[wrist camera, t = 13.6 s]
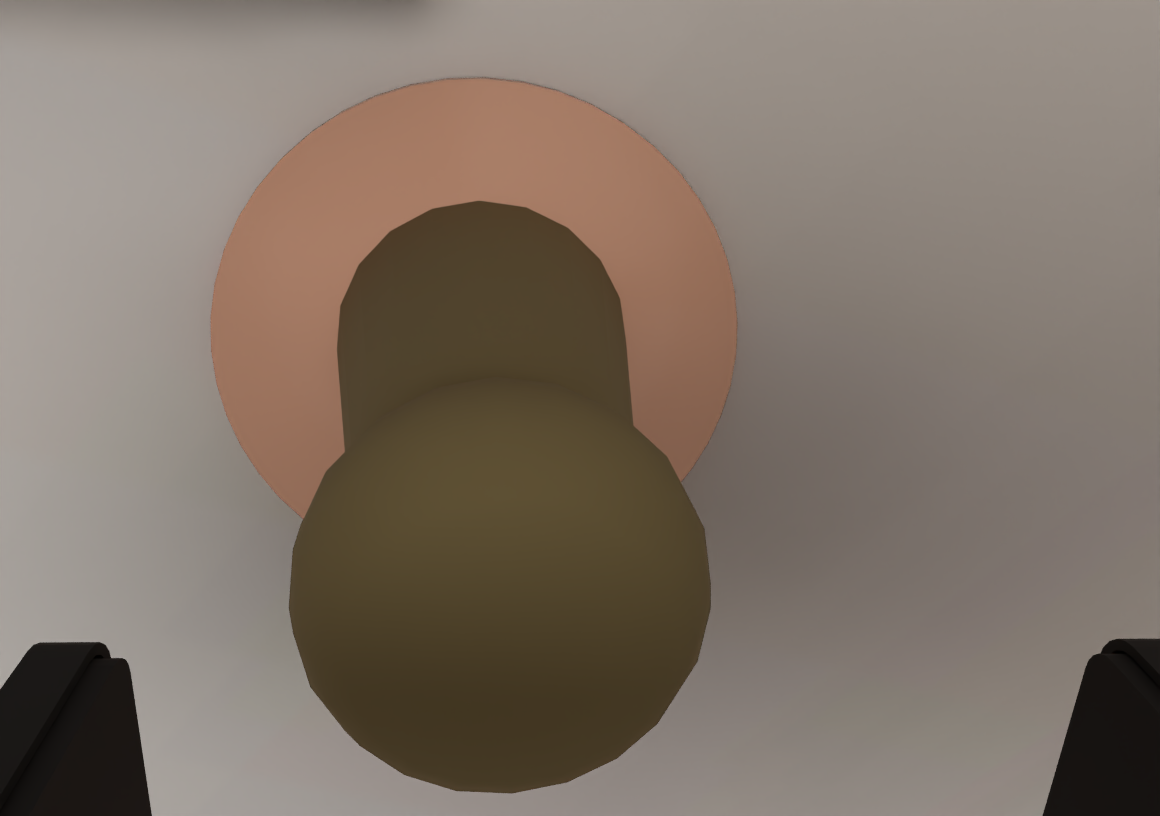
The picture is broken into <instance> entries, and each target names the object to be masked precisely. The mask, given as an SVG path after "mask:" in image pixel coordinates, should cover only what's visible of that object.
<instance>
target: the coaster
mask: <svg viewBox="0 0 1160 816" xmlns="http://www.w3.org/2000/svg"><path fill="white" fill-rule="evenodd" d="M474 201H486V202H493V203H500V204H507V205H514V206H521V207H527V208H529V209H531V210H533V211H535V212H537V213H539V214H541V215H543V216H545V217H547V218H549V219H551V220H553V221H555V222H557V223H559V224H561V225H563V226H566V227H568V228H569V229H570V230H571V231H572V232H573V233H574V234H575V235H576V236H577V237H578V238H579V239H580V240H581V241H582V242H583V243H584V244H585V245H586V246H587V247H588V248H589V249H590V250H591V251H592V252H593V253H594V254H595V255H596V256H597V257H598V258H599V259H600V260H601V262H602V264H603V266H604V268H605V270H606V272H607V274H608V276H609V278H610V279H611V281H612V283H613V285H614V287H615V289H616V291H617V293H618V295H619V297H620V302H621V309H622V316H623V323H624V330H625V337H626V347H627V358H628V370H629V381H630V392H631V404H632V415H633V426H634V427H635V428H637V429H638V430H639V431H640V432H641V433H642V434H643V435H644V436H645V437H646V438H648V439H649V440H650V441H651V442H652V443H653V444H654V445H655V446H656V447H657V448H658V449H660V450H661V451H662V452H663V453H664V454H665V455H666V456H667V457H668V459H669V461H670V463H671V465H672V467H673V469H674V470H675V472H676V474H677V476H678V478H679V480H680V482H682V480H683V479H684V478H685V477H686V475H687V474H688V473H689V472H690V471H691V469H692V468H693V466H694V465H695V463H696V461H697V460H698V458H699V457H700V455H701V454H702V452H703V450H704V449H705V447H706V446H707V444H708V442H709V440H710V438H711V436H712V434H713V431H714V429H715V427H716V425H717V423H718V421H719V419H720V416H721V414H722V411H723V408H724V405H725V401H726V398H727V395H728V392H729V389H730V386H731V380H732V375H733V369H734V363H735V358H736V345H737V312H736V302H735V291H734V287H733V282H732V278H731V274H730V269H729V265H728V261H727V258H726V255H725V252H724V250H723V247H722V245H721V242H720V239H719V237H718V234H717V231H716V229H715V227H714V225H713V223H712V221H711V220H710V218H709V216H708V214H707V212H706V211H705V209H704V207H703V205H702V203H701V201H700V200H699V198H698V197H697V195H696V194H695V193H694V191H693V190H692V189H691V187H690V186H689V185H688V183H687V182H686V181H685V179H684V178H683V177H682V175H681V174H680V173H679V171H678V170H677V169H676V168H675V167H674V166H673V165H672V164H671V163H670V162H669V161H668V160H667V159H666V158H665V157H664V156H663V155H662V154H661V153H660V152H659V151H658V150H657V149H656V148H655V147H654V146H653V145H651V144H650V143H649V142H647V141H646V140H645V139H643V138H642V137H641V136H640V135H638V134H637V133H636V132H634V131H633V130H632V129H630V128H629V127H628V126H627V125H625V124H624V123H623V122H621V121H620V120H618V119H616V118H614V117H613V116H611V115H609V114H607V113H606V112H604V111H602V110H600V109H599V108H597V107H595V106H593V105H592V104H590V103H587V102H585V101H582V100H580V99H577V98H575V97H572V96H570V95H567V94H565V93H562V92H560V91H557V90H554V89H550V88H546V87H542V86H538V85H534V84H530V83H526V82H522V81H514V80H504V79H495V78H486V77H478V78H447V79H441V80H435V81H429V82H423V83H417V84H411V85H408V86H404V87H401V88H398V89H395V90H392V91H388V92H385V93H382V94H379V95H376V96H374V97H371V98H369V99H367V100H365V101H363V102H361V103H359V104H357V105H355V106H352V107H350V108H348V109H346V110H344V111H342V112H341V113H339V114H338V115H336V116H334V117H333V118H331V119H330V120H328V121H327V122H325V123H324V124H322V125H321V126H319V127H318V128H316V129H315V130H313V131H312V132H311V133H310V134H308V135H307V136H306V137H305V138H304V139H303V140H302V141H301V142H299V143H298V144H297V145H296V146H295V147H294V148H293V149H292V150H290V151H289V152H288V153H287V154H286V155H285V156H284V157H283V158H282V159H281V160H280V161H279V162H278V163H277V165H276V166H275V167H274V168H273V169H272V170H271V172H270V173H269V174H268V175H267V176H266V178H265V179H264V180H263V181H262V182H261V183H260V185H259V186H258V187H257V188H256V190H255V192H254V193H253V195H252V196H251V198H250V200H249V201H248V203H247V204H246V206H245V208H244V209H243V211H242V212H241V214H240V216H239V217H238V219H237V221H236V224H235V226H234V228H233V231H232V233H231V235H230V237H229V240H228V242H227V244H226V247H225V249H224V252H223V255H222V259H221V263H220V266H219V270H218V274H217V277H216V281H215V286H214V294H213V302H212V311H211V352H212V358H213V364H214V370H215V376H216V382H217V386H218V390H219V393H220V396H221V399H222V402H223V405H224V409H225V412H226V415H227V417H228V420H229V422H230V424H231V426H232V428H233V430H234V432H235V434H236V436H237V439H238V441H239V443H240V445H241V447H242V448H243V450H244V451H245V453H246V454H247V456H248V457H249V459H250V460H251V462H252V464H253V465H254V467H255V468H256V470H257V471H258V473H259V474H260V475H261V476H262V478H263V479H264V480H265V481H266V482H267V483H268V485H269V486H270V487H271V488H272V489H273V490H274V492H275V493H276V494H277V495H278V496H279V497H280V498H281V499H282V500H283V501H284V502H285V503H286V504H287V505H288V506H289V507H291V508H292V509H293V510H294V511H295V512H296V513H297V514H298V515H299V516H300V517H301V518H303V519H304V517H305V515H306V513H307V511H308V508H309V506H310V504H311V502H312V500H313V498H314V496H315V493H316V491H317V489H318V487H319V485H320V483H321V481H322V478H323V476H324V474H325V472H326V471H327V470H328V469H329V468H330V467H331V466H332V465H333V464H334V463H335V462H336V461H337V460H338V458H339V457H340V456H341V455H342V454H343V453H344V452H345V447H344V435H343V422H342V409H341V396H340V384H339V371H338V358H337V341H338V328H339V316H340V305H341V303H342V301H343V298H344V296H345V294H346V292H347V290H348V287H349V285H350V283H351V281H352V278H353V276H354V274H355V272H356V269H357V267H358V265H359V264H360V263H361V262H362V261H363V259H364V258H365V257H366V256H367V255H368V254H369V253H370V252H371V251H372V250H373V249H374V248H375V247H376V246H377V245H378V243H379V242H380V241H381V240H382V239H383V238H384V237H385V236H386V235H387V234H388V233H389V232H390V231H391V230H393V229H395V228H397V227H399V226H401V225H402V224H404V223H406V222H408V221H410V220H412V219H414V218H416V217H417V216H419V215H421V214H423V213H425V212H427V211H429V210H431V209H433V208H439V207H445V206H451V205H456V204H462V203H468V202H474Z"/></svg>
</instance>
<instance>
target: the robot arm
mask: <svg viewBox="0 0 1160 816" xmlns="http://www.w3.org/2000/svg"><path fill="white" fill-rule="evenodd" d="M0 816H152V814H151V807H150V801H149V794H148V787H147V780H146V774H145V767H144V760H143V753H142V747H141V740H140V733H139V726H138V720H137V713H136V706H135V699H134V693H133V686H132V679H131V672H130V668H129V665H128V663H127V661H126V660H125V659H123V658H111V657H110V653H109V650H108V649H107V647H106V645H105V644H103V643H100V642H67V643H38V644H35V645H33V646H32V647H31V648H30V649H29V650H28V651H27V653H26V654H25V655H24V657H23V658H22V660H21V661H20V663H19V664H18V665H17V667H16V668H15V670H14V671H13V672H12V674H11V675H10V677H9V678H8V679H7V681H6V682H5V684H4V685H3V686H2V688H1V689H0ZM1043 816H1160V639H1115V640H1112V641H1109V642H1108V643H1107V644H1106V645H1105V646H1104V647H1103V649H1102V652H1101V654H1096V655H1093V656H1092V657H1091V658H1090V659H1089V661H1088V663H1087V666H1086V668H1085V672H1084V675H1083V679H1082V682H1081V686H1080V689H1079V692H1078V696H1077V699H1076V703H1075V706H1074V710H1073V713H1072V717H1071V720H1070V723H1069V727H1068V730H1067V734H1066V737H1065V741H1064V744H1063V748H1062V751H1061V754H1060V758H1059V761H1058V765H1057V768H1056V772H1055V775H1054V779H1053V782H1052V785H1051V789H1050V792H1049V796H1048V799H1047V803H1046V806H1045V810H1044V813H1043Z"/></svg>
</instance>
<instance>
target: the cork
mask: <svg viewBox="0 0 1160 816" xmlns="http://www.w3.org/2000/svg"><path fill="white" fill-rule="evenodd" d="M337 358H338V371H339V384H340V396H341V409H342V422H343V435H344V447H345V452H344V453H343V454H342V455H341V456H340V457H339V458H338V460H337V461H336V462H335V463H334V464H333V465H332V466H331V467H330V468H329V469H328V470H327V471H326V472H325V474H324V476H323V478H322V481H321V483H320V485H319V487H318V489H317V491H316V493H315V496H314V498H313V500H312V502H311V504H310V506H309V508H308V511H307V513H306V515H305V517H304V519H303V521H302V523H301V526H300V529H299V532H298V535H297V538H296V541H295V545H294V548H293V555H292V570H291V584H290V599H289V611H290V617H291V623H292V628H293V634H294V637H295V640H296V643H297V646H298V650H299V653H300V656H301V659H302V662H303V665H304V668H305V671H306V675H307V678H308V681H309V684H310V687H311V688H312V690H313V691H314V692H315V693H316V695H317V696H318V697H319V698H320V700H321V701H322V702H323V703H324V705H325V706H326V707H327V709H328V710H329V711H330V712H331V714H332V715H333V716H334V717H335V719H336V720H337V721H338V723H339V724H340V725H341V726H342V728H343V729H344V730H345V731H346V732H347V733H348V734H349V735H350V736H351V737H352V738H353V739H354V740H355V741H356V742H357V743H358V744H359V745H360V746H361V747H363V748H364V749H366V750H367V751H369V752H370V753H372V754H373V755H375V756H376V757H378V758H379V759H381V760H382V761H384V762H385V763H387V764H388V765H390V766H391V767H393V768H394V769H396V770H398V771H399V772H401V773H402V774H404V775H406V776H410V777H413V778H416V779H419V780H423V781H426V782H429V783H432V784H436V785H439V786H442V787H445V788H449V789H452V790H455V791H470V792H493V793H516V792H521V791H526V790H531V789H536V788H541V787H546V786H551V785H556V784H561V783H566V782H569V781H571V780H573V779H575V778H577V777H579V776H581V775H583V774H585V773H588V772H590V771H592V770H594V769H596V768H598V767H600V766H602V765H604V764H606V763H608V762H611V761H613V760H615V759H617V758H618V757H619V756H620V755H621V754H623V753H624V752H625V751H626V750H627V749H628V748H630V747H631V746H632V745H633V744H634V743H635V742H637V741H638V740H639V739H640V738H641V737H643V736H644V735H645V734H646V733H647V732H648V731H650V730H651V729H652V728H653V727H654V726H655V725H657V723H658V722H659V720H660V719H661V717H662V716H663V714H664V713H665V711H666V710H667V708H668V706H669V705H670V703H671V702H672V700H673V699H674V697H675V696H676V694H677V692H678V691H679V689H680V688H681V686H682V685H683V683H684V682H685V680H686V678H687V677H688V675H689V674H690V672H691V671H692V669H693V667H694V666H695V664H696V663H697V661H698V657H699V653H700V649H701V645H702V641H703V637H704V633H705V629H706V625H707V621H708V617H709V613H710V606H711V583H710V574H709V565H708V557H707V548H706V540H705V531H704V527H703V525H702V523H701V521H700V519H699V517H698V515H697V513H696V511H695V509H694V507H693V505H692V503H691V501H690V499H689V497H688V495H687V493H686V492H685V490H684V488H683V486H682V484H681V482H680V480H679V478H678V476H677V474H676V472H675V470H674V469H673V467H672V465H671V463H670V461H669V459H668V457H667V456H666V455H665V454H664V453H663V452H662V451H661V450H660V449H658V448H657V447H656V446H655V445H654V444H653V443H652V442H651V441H650V440H649V439H648V438H646V437H645V436H644V435H643V434H642V433H641V432H640V431H639V430H638V429H637V428H635V427H634V426H633V415H632V404H631V392H630V381H629V370H628V358H627V347H626V337H625V330H624V323H623V316H622V309H621V302H620V297H619V295H618V293H617V291H616V289H615V287H614V285H613V283H612V281H611V279H610V278H609V276H608V274H607V272H606V270H605V268H604V266H603V264H602V262H601V260H600V259H599V258H598V257H597V256H596V255H595V254H594V253H593V252H592V251H591V250H590V249H589V248H588V247H587V246H586V245H585V244H584V243H583V242H582V241H581V240H580V239H579V238H578V237H577V236H576V235H575V234H574V233H573V232H572V231H571V230H570V229H569V228H568V227H566V226H563V225H561V224H559V223H557V222H555V221H553V220H551V219H549V218H547V217H545V216H543V215H541V214H539V213H537V212H535V211H533V210H531V209H529V208H527V207H521V206H514V205H507V204H500V203H493V202H486V201H474V202H468V203H462V204H456V205H451V206H445V207H439V208H433V209H431V210H429V211H427V212H425V213H423V214H421V215H419V216H417V217H416V218H414V219H412V220H410V221H408V222H406V223H404V224H402V225H401V226H399V227H397V228H395V229H393V230H391V231H390V232H389V233H388V234H387V235H386V236H385V237H384V238H383V239H382V240H381V241H380V242H379V243H378V245H377V246H376V247H375V248H374V249H373V250H372V251H371V252H370V253H369V254H368V255H367V256H366V257H365V258H364V259H363V261H362V262H361V263H360V264H359V265H358V267H357V269H356V272H355V274H354V276H353V278H352V281H351V283H350V285H349V287H348V290H347V292H346V294H345V296H344V298H343V301H342V303H341V305H340V316H339V328H338V341H337Z"/></svg>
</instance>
